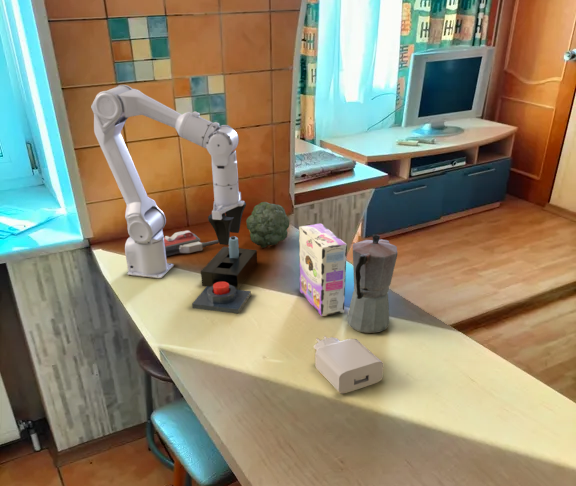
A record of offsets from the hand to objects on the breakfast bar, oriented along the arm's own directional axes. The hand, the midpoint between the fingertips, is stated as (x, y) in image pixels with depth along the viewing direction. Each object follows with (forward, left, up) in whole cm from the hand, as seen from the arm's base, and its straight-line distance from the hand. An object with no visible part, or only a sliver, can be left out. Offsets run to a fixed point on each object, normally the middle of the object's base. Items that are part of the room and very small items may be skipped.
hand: (229, 238), depth 142 cm
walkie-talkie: (-18, +15, -11) cm, 25 cm away
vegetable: (+2, +24, -11) cm, 26 cm away
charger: (+33, -32, -11) cm, 48 cm away
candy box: (+24, -7, -11) cm, 27 cm away
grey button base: (+2, -13, -10) cm, 17 cm away
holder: (-1, +1, -10) cm, 10 cm away
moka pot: (+36, -15, -11) cm, 41 cm away
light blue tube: (-1, +4, -10) cm, 11 cm away
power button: (+2, -13, -8) cm, 15 cm away
